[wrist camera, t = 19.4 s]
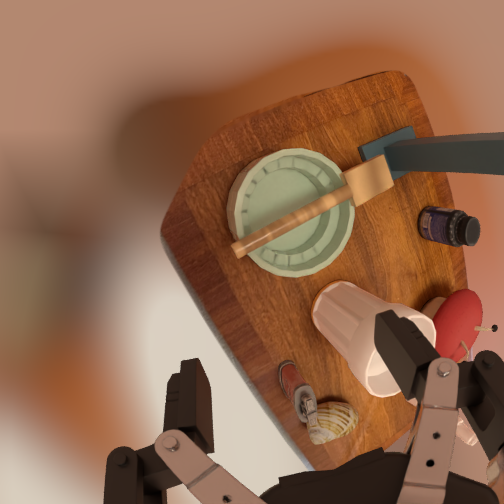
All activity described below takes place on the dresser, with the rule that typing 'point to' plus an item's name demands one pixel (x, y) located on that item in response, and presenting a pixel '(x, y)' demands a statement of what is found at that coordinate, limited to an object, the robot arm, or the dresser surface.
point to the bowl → (290, 210)
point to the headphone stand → (438, 152)
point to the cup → (361, 331)
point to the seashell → (332, 422)
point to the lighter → (298, 392)
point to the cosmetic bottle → (459, 429)
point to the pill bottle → (448, 226)
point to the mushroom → (456, 322)
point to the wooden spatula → (325, 202)
